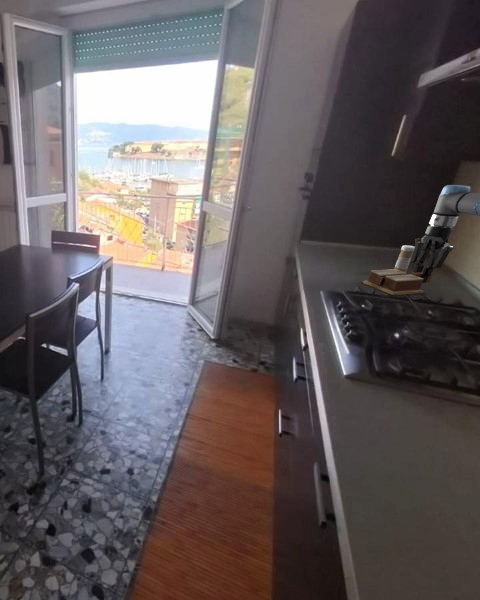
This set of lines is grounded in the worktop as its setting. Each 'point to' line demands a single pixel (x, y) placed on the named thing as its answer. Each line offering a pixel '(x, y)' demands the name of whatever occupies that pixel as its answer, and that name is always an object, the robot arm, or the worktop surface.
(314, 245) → the worktop surface
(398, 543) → the worktop surface
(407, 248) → the sprinkles bottle
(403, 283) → the cake
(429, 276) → the knife
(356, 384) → the worktop surface
